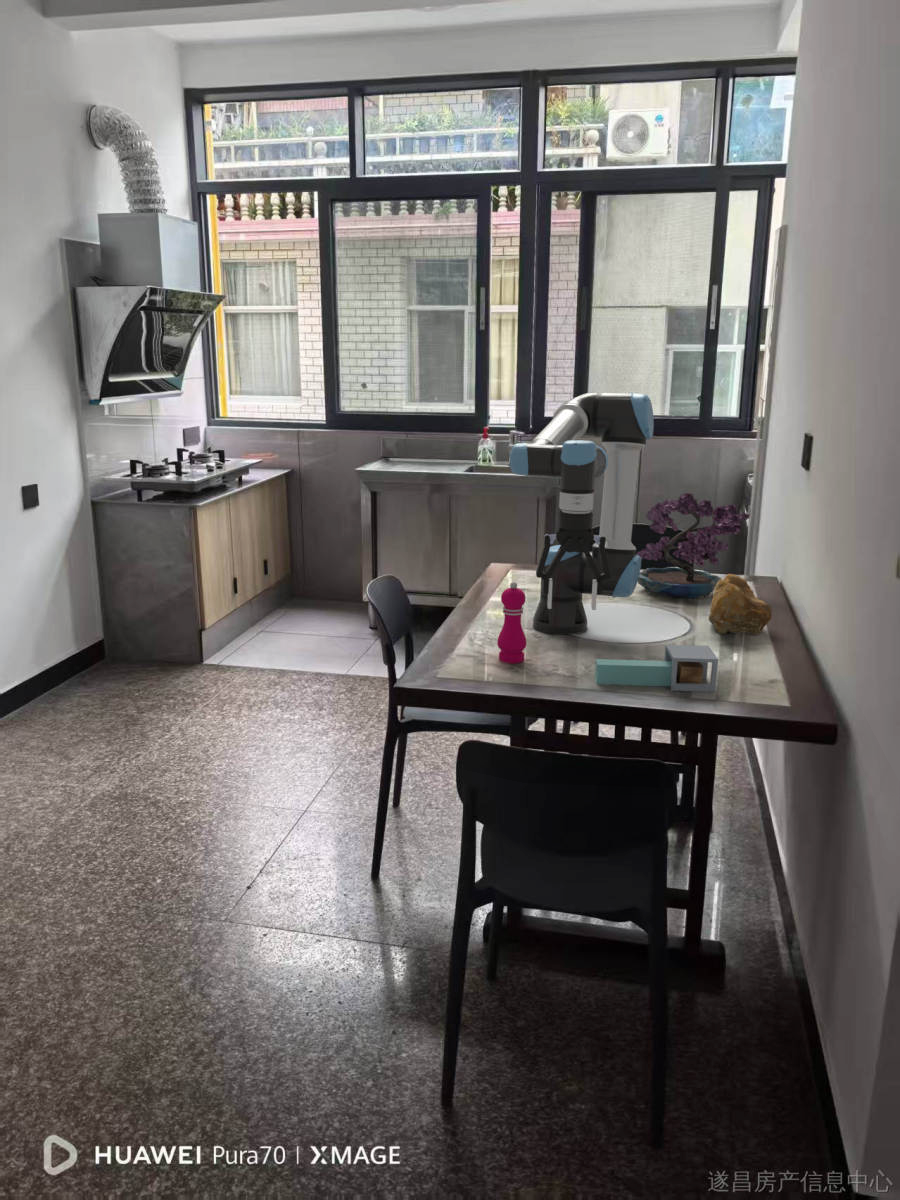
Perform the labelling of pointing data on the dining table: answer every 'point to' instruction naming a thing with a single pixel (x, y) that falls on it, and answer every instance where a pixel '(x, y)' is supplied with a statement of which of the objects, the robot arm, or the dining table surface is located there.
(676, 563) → the bonsai tree
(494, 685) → the dining table surface
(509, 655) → the pepper mill
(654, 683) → the teal rod
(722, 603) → the rough brown rock
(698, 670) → the walnut block
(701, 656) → the tunnel
